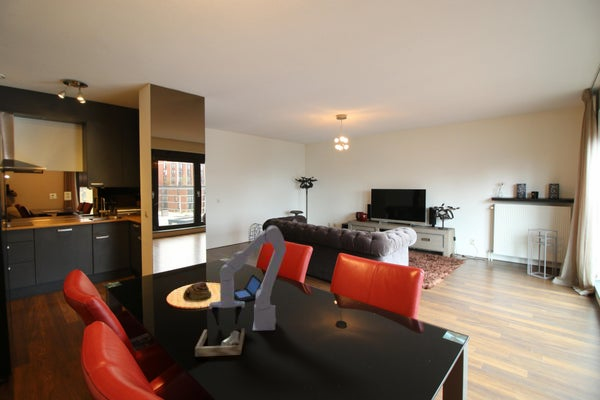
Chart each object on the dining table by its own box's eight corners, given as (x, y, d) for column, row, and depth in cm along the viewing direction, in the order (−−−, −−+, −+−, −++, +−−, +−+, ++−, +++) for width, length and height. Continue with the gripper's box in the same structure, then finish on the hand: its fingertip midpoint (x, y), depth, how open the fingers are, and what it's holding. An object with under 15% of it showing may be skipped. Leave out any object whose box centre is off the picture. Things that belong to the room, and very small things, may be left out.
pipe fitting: (221, 354, 101) (239, 350, 103) (220, 343, 101) (238, 340, 102) (222, 342, 109) (239, 338, 111) (221, 332, 109) (238, 329, 110)
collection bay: (244, 335, 113) (244, 328, 113) (240, 354, 100) (240, 346, 100) (204, 336, 112) (204, 329, 111) (195, 356, 99) (195, 348, 98)
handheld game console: (230, 293, 157) (230, 277, 157) (252, 289, 164) (252, 273, 164) (239, 303, 144) (239, 286, 143) (262, 298, 151) (263, 282, 150)
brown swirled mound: (206, 301, 146) (206, 286, 146) (178, 300, 146) (178, 286, 146) (214, 291, 160) (214, 278, 159) (189, 291, 160) (188, 277, 159)
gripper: (245, 288, 122) (245, 318, 123) (211, 289, 121) (212, 319, 122) (243, 295, 115) (243, 326, 116) (208, 296, 114) (208, 328, 115)
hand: (227, 323), depth 118 cm, fingers open, 7 cm apart
